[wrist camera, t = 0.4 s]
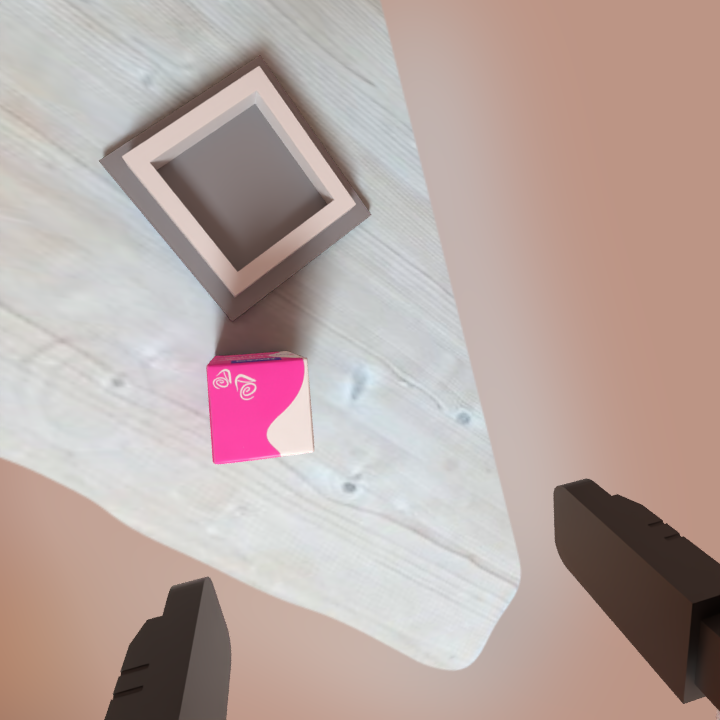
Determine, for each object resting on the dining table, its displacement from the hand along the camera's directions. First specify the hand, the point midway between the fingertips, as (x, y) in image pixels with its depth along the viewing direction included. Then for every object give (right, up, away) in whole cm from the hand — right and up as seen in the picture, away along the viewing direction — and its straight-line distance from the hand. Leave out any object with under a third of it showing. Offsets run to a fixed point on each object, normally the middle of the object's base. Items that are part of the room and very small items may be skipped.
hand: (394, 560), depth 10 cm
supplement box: (-9, +2, +26) cm, 28 cm away
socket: (-10, +17, +25) cm, 32 cm away
